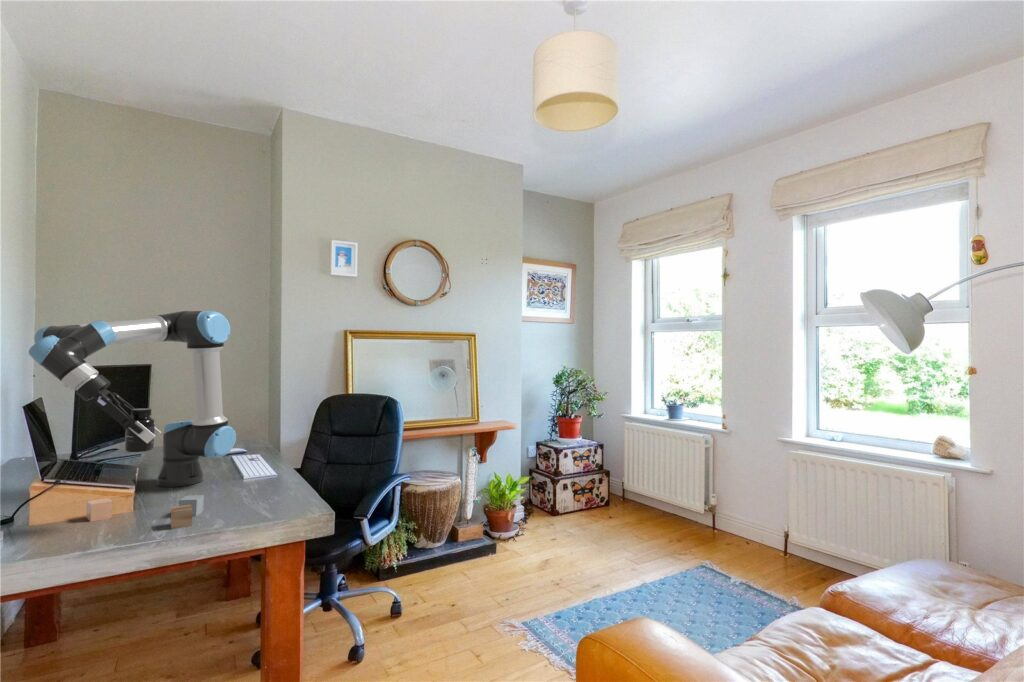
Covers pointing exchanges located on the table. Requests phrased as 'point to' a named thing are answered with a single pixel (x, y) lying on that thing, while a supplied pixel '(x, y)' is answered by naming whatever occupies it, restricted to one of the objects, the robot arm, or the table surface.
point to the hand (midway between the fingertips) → (154, 437)
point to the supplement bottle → (134, 441)
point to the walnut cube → (181, 516)
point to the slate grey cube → (193, 503)
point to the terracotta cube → (99, 509)
